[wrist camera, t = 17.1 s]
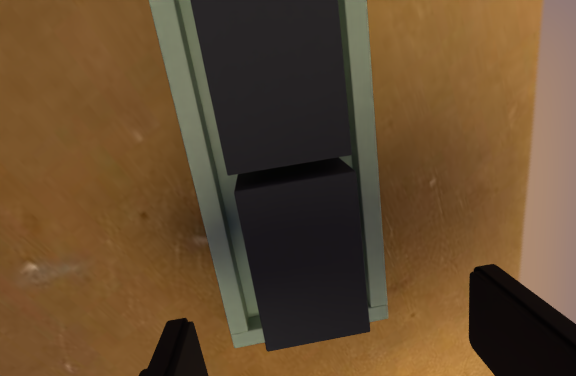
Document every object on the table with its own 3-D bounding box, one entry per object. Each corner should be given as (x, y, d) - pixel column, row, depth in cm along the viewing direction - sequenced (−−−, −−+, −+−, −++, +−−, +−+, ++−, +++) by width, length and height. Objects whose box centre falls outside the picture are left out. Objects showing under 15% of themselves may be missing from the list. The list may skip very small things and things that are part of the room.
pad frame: (145, -51, 14) (131, -68, 13) (348, -78, 15) (360, -98, 13) (235, 328, 20) (234, 349, 19) (378, 300, 21) (388, 319, 19)
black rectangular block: (197, -24, 14) (176, -65, 10) (310, -39, 14) (330, -86, 11) (233, 156, 17) (227, 176, 13) (330, 140, 17) (352, 155, 13)
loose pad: (238, 168, 17) (233, 191, 13) (333, 152, 17) (356, 170, 13) (264, 300, 19) (267, 352, 15) (348, 284, 19) (370, 332, 16)
